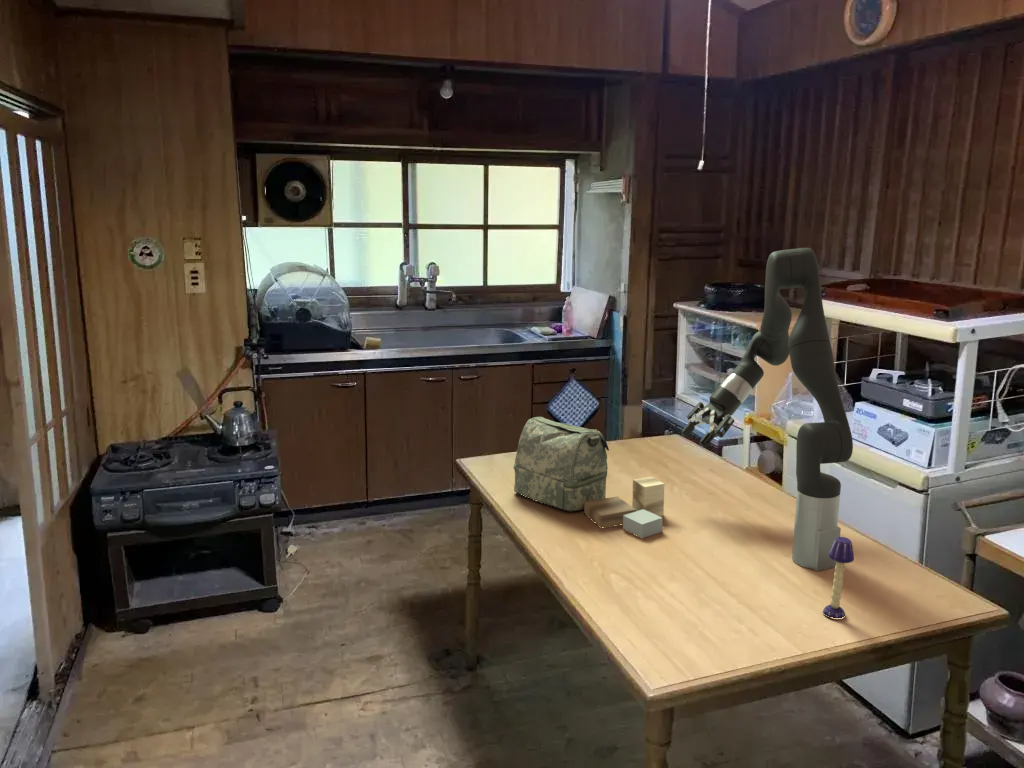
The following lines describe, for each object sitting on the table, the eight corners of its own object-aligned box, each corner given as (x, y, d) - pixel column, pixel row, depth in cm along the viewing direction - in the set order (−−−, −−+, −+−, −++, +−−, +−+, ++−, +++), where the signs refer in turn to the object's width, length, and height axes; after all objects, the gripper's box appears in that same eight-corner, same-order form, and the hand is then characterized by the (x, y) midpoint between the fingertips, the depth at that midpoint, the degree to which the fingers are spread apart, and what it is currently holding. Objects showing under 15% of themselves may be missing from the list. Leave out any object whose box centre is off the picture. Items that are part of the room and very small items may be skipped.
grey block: (662, 532, 203) (662, 517, 202) (641, 539, 199) (642, 524, 198) (643, 523, 209) (643, 509, 208) (622, 530, 205) (623, 515, 204)
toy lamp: (842, 609, 164) (849, 533, 160) (852, 621, 160) (859, 543, 156) (819, 610, 164) (825, 534, 160) (828, 621, 159) (835, 544, 155)
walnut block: (635, 523, 209) (636, 509, 208) (601, 530, 205) (601, 515, 204) (617, 510, 218) (617, 496, 217) (584, 515, 214) (584, 501, 213)
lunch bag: (618, 501, 223) (619, 426, 218) (572, 519, 211) (572, 440, 206) (552, 477, 242) (552, 408, 237) (507, 493, 231) (506, 420, 225)
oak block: (663, 515, 213) (664, 483, 211) (643, 519, 211) (644, 487, 209) (651, 507, 218) (652, 476, 216) (632, 511, 216) (632, 479, 214)
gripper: (707, 379, 219) (669, 424, 218) (739, 392, 206) (700, 440, 205) (722, 395, 222) (685, 440, 221) (755, 409, 210) (716, 456, 209)
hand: (692, 440), depth 213 cm, fingers open, 8 cm apart
